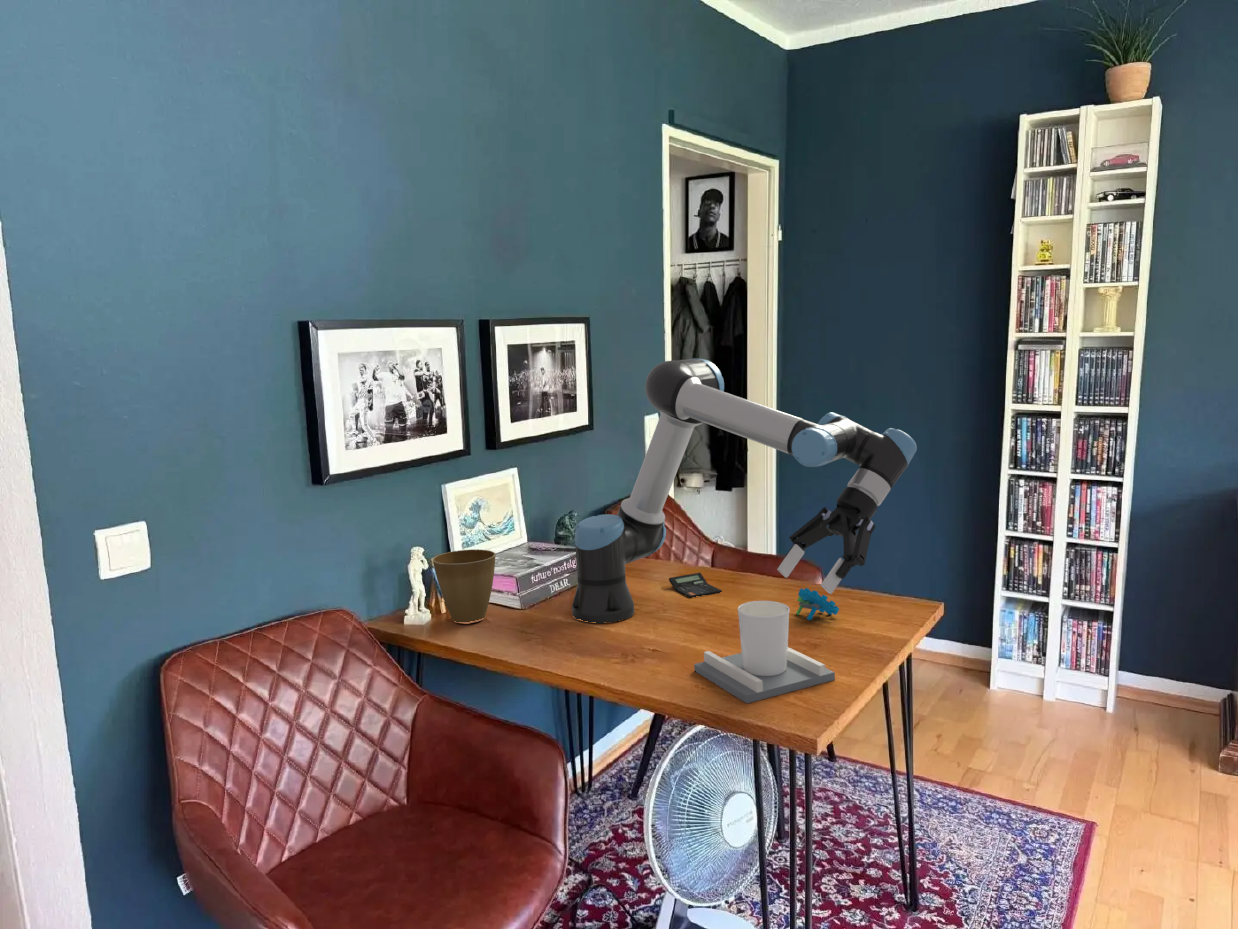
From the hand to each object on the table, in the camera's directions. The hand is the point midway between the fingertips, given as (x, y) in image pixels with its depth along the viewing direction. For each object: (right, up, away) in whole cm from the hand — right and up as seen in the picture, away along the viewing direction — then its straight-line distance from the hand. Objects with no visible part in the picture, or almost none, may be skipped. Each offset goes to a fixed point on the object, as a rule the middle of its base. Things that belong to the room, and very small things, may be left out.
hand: (803, 581), depth 168 cm
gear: (+10, -13, +31) cm, 35 cm away
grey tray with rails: (-8, -18, -2) cm, 20 cm away
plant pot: (-72, -15, +41) cm, 84 cm away
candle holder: (-8, -17, -2) cm, 18 cm away
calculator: (-16, -10, +57) cm, 60 cm away
